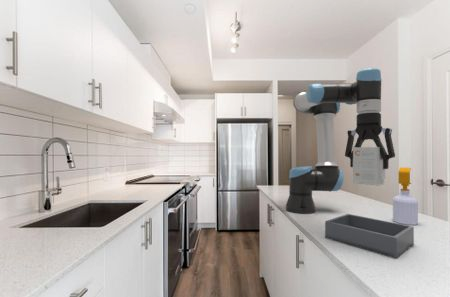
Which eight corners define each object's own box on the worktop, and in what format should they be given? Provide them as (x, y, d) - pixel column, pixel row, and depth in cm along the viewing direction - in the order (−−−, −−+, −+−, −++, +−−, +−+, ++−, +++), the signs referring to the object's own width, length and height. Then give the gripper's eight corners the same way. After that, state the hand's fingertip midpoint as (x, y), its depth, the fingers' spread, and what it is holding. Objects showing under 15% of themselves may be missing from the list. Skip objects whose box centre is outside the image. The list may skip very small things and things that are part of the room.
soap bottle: (418, 222, 110) (418, 167, 110) (416, 226, 103) (416, 168, 104) (394, 218, 116) (394, 166, 116) (391, 222, 109) (391, 167, 110)
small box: (384, 184, 85) (384, 147, 85) (377, 186, 81) (377, 146, 81) (359, 182, 91) (360, 147, 91) (352, 183, 87) (352, 147, 87)
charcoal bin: (325, 237, 88) (325, 221, 89) (347, 228, 100) (347, 213, 100) (396, 258, 71) (396, 238, 72) (413, 244, 83) (413, 226, 83)
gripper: (334, 115, 92) (334, 175, 92) (400, 108, 76) (400, 181, 76) (343, 117, 97) (343, 174, 97) (407, 111, 81) (407, 179, 81)
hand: (368, 177), depth 86 cm, fingers closed on small box, 8 cm apart
